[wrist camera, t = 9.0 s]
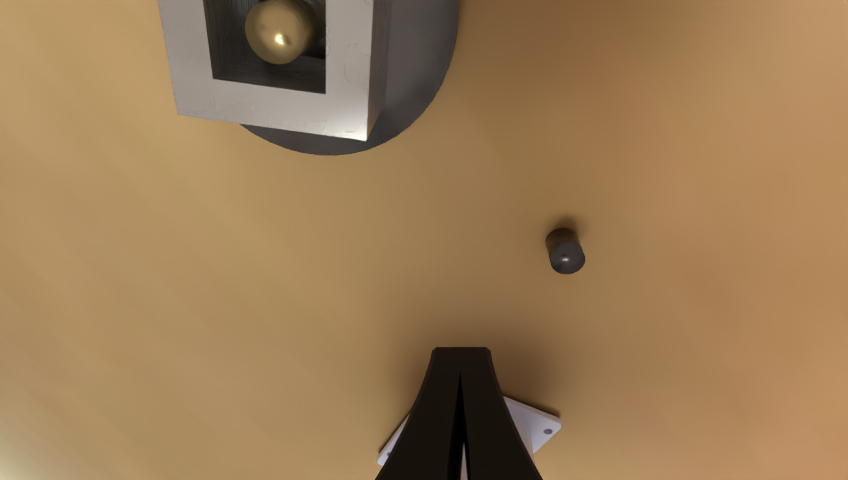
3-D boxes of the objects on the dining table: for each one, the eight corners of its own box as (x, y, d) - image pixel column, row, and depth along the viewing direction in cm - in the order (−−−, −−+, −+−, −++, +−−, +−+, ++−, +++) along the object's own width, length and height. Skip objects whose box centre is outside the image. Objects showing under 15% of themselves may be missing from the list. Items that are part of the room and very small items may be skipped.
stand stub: (565, 258, 22) (572, 278, 20) (539, 247, 21) (544, 266, 20) (584, 236, 21) (591, 255, 20) (557, 223, 21) (563, 241, 19)
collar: (385, 101, 17) (366, 140, 14) (233, 80, 17) (177, 114, 14) (398, -84, 14) (377, -90, 11) (213, -109, 14) (136, -124, 11)
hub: (390, 184, 20) (373, 241, 16) (156, 76, 18) (76, 112, 15) (513, -67, 15) (530, -69, 11) (205, -251, 13) (102, -326, 9)
